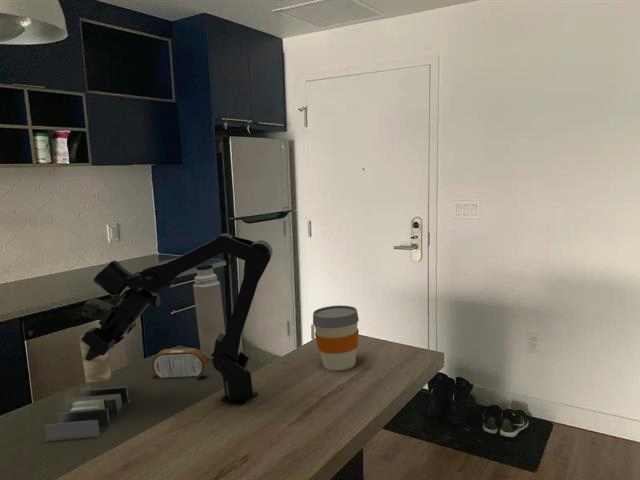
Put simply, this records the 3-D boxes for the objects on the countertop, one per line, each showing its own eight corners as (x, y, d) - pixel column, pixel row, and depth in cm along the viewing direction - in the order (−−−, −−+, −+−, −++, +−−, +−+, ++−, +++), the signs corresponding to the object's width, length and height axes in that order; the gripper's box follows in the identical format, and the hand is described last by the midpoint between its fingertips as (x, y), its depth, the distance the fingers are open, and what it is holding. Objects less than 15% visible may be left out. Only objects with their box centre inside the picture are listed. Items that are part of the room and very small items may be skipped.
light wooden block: (111, 376, 121) (104, 332, 119) (107, 380, 118) (100, 335, 117) (90, 378, 121) (84, 334, 119) (86, 382, 118) (79, 337, 117)
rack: (131, 403, 123) (128, 386, 122) (101, 440, 106) (98, 420, 105) (82, 407, 123) (80, 390, 122) (45, 445, 105) (41, 425, 105)
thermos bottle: (212, 348, 160) (202, 262, 156) (232, 350, 156) (222, 262, 153) (196, 357, 153) (185, 267, 149) (217, 359, 149) (206, 267, 146)
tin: (209, 375, 137) (206, 346, 136) (205, 380, 134) (202, 350, 133) (157, 377, 139) (153, 348, 138) (152, 382, 136) (148, 352, 135)
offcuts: (105, 415, 115) (103, 397, 115) (99, 423, 112) (96, 404, 111) (80, 417, 115) (77, 399, 115) (72, 425, 112) (69, 407, 111)
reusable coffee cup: (320, 356, 144) (315, 306, 143) (363, 355, 143) (359, 304, 141) (313, 373, 132) (308, 319, 130) (360, 372, 130) (356, 317, 128)
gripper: (117, 279, 126) (80, 325, 127) (84, 296, 108) (41, 350, 109) (152, 306, 127) (115, 351, 128) (125, 328, 109) (82, 381, 110)
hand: (89, 357), depth 119 cm, fingers closed on light wooden block, 2 cm apart
